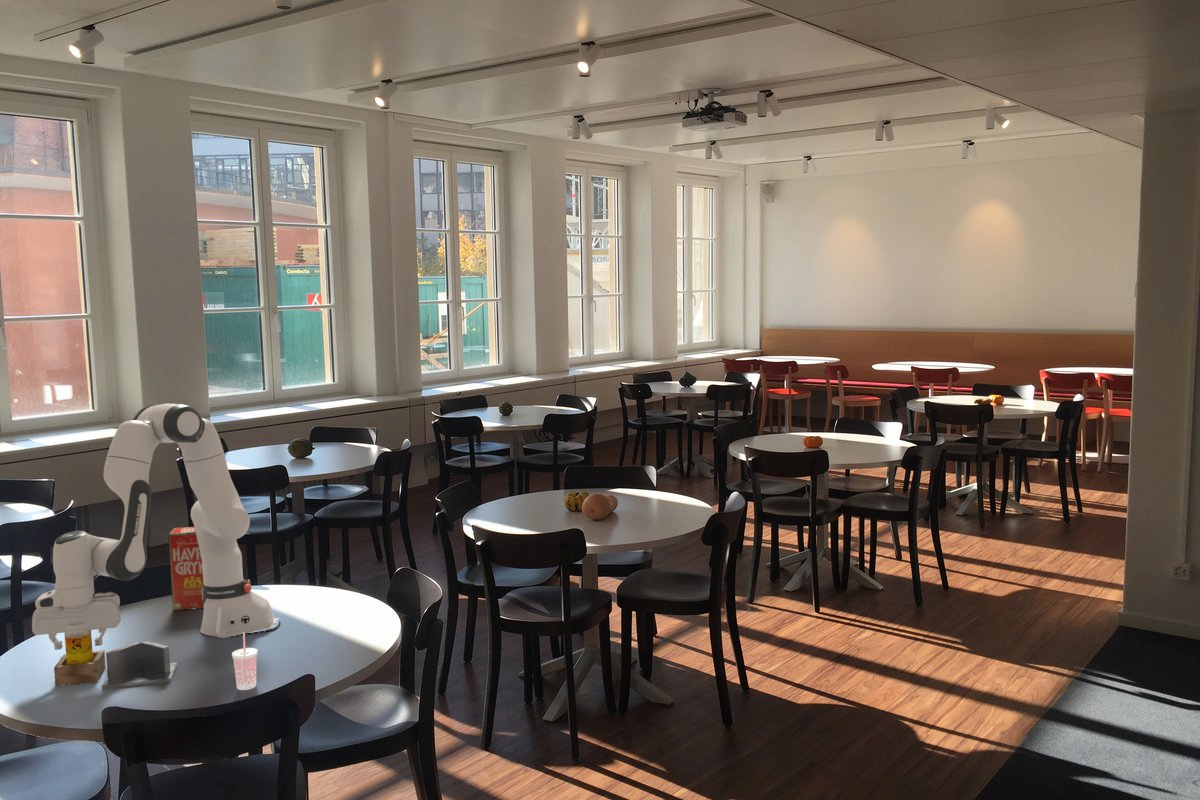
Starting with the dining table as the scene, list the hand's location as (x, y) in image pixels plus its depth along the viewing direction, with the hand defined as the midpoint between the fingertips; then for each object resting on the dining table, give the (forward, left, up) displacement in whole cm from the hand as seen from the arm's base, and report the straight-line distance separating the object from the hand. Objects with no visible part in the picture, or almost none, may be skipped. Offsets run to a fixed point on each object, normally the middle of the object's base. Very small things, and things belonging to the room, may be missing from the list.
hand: (78, 647), depth 254 cm
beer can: (0, 0, -8) cm, 8 cm away
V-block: (-15, +5, -8) cm, 18 cm away
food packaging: (-22, -56, -8) cm, 61 cm away
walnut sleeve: (0, 0, -8) cm, 8 cm away
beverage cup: (-42, +20, -8) cm, 47 cm away
